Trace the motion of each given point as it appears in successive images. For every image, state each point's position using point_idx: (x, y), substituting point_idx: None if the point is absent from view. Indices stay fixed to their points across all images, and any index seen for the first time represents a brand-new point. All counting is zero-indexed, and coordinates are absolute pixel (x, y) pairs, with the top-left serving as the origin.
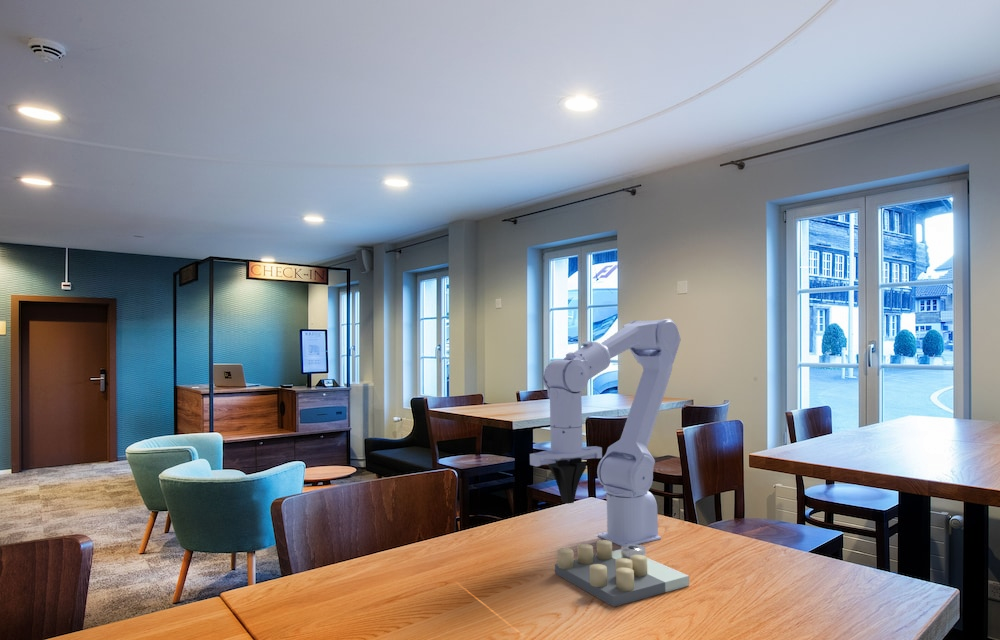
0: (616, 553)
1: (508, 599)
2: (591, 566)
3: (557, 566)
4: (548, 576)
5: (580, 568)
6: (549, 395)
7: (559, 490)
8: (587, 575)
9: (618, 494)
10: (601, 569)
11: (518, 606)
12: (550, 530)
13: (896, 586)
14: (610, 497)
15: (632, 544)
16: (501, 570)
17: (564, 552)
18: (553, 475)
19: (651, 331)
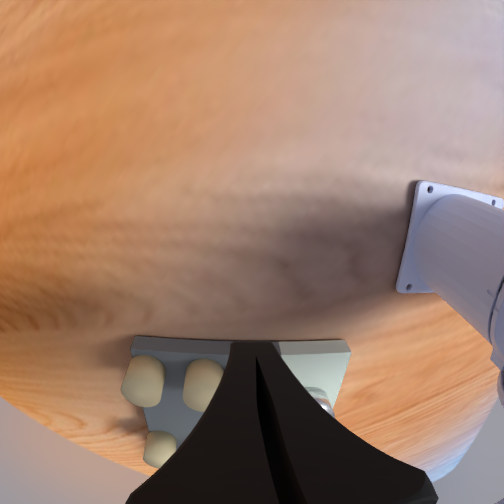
0: (306, 368)
1: (27, 359)
2: (149, 455)
3: (132, 356)
4: (119, 332)
5: (170, 390)
6: None
7: (223, 377)
8: (164, 414)
9: (493, 333)
10: (158, 466)
11: (37, 382)
12: (349, 36)
13: (439, 468)
14: (491, 291)
15: (326, 410)
16: (41, 245)
17: (133, 398)
18: (180, 445)
19: None
